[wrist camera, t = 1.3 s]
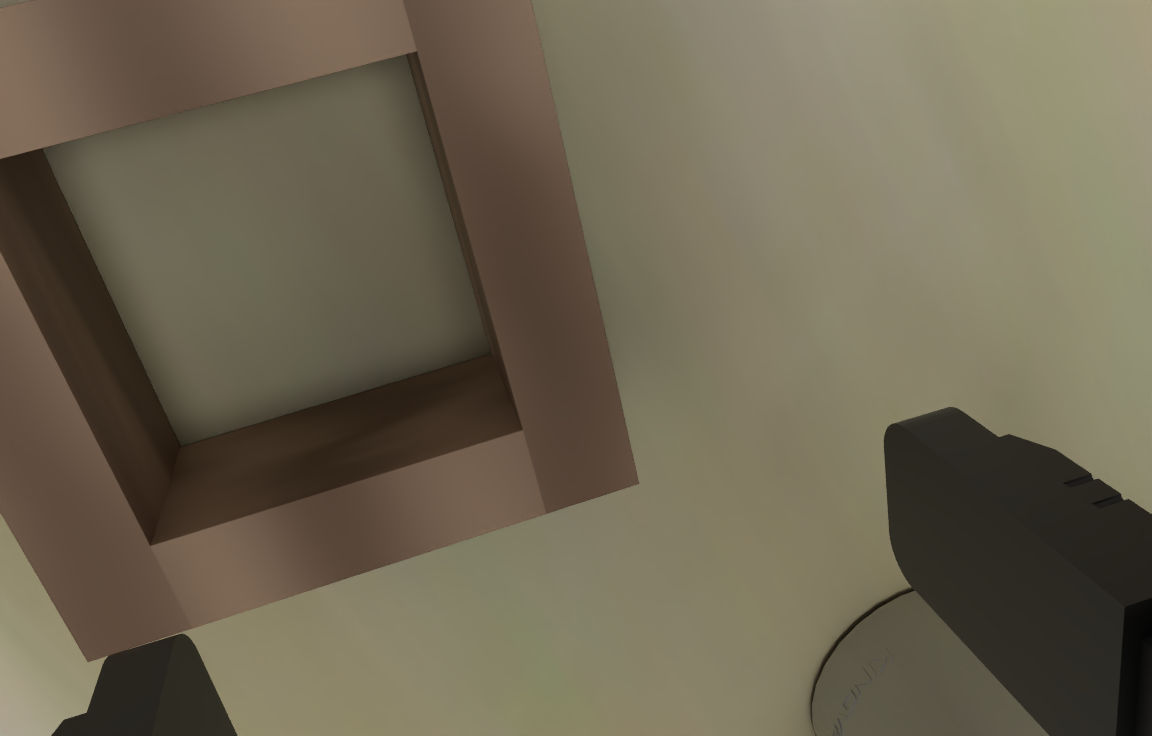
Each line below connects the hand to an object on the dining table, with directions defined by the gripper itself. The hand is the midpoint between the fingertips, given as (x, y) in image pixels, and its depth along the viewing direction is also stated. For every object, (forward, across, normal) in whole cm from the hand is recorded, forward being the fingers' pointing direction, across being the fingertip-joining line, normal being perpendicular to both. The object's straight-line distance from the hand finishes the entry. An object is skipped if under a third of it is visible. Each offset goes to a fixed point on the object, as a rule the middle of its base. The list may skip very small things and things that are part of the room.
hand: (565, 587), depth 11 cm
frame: (+17, +4, 0) cm, 17 cm away
